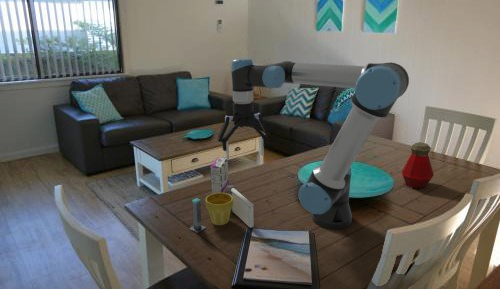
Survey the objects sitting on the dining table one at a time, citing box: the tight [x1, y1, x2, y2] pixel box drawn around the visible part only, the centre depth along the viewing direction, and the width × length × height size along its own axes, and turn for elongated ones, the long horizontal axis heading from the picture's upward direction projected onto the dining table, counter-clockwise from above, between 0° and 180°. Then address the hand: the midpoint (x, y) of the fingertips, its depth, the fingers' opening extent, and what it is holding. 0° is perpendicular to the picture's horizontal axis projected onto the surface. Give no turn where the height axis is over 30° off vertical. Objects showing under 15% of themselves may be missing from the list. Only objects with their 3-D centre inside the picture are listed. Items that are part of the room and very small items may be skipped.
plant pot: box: [205, 193, 233, 226], centre depth 147 cm, size 10×10×10 cm
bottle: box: [401, 141, 435, 189], centre depth 177 cm, size 16×14×20 cm
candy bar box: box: [210, 157, 230, 194], centre depth 166 cm, size 11×5×16 cm, turn 168°
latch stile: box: [188, 197, 207, 234], centre depth 141 cm, size 4×4×12 cm
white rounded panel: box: [228, 184, 255, 228], centre depth 148 cm, size 18×3×10 cm, turn 29°
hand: (244, 156), depth 148 cm, fingers open, 13 cm apart
